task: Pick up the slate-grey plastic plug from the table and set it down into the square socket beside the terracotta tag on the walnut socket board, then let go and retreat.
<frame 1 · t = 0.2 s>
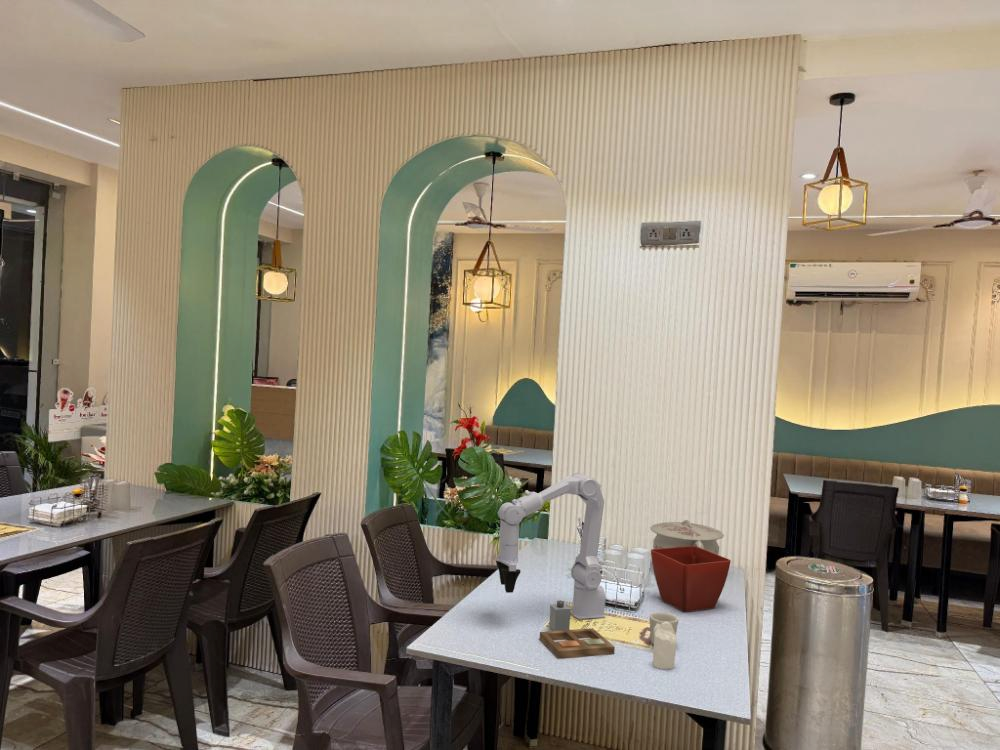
hand: (506, 588, 224), 10 cm above the table, tool pointing down, fingers open, 7 cm apart
cup: (660, 647, 211), on the table
chamber pot: (684, 574, 285), on the table
socket board: (572, 642, 210), on the table
plug: (559, 630, 219), on the table
plant pot: (687, 605, 249), on the table
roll: (663, 666, 197), on the table
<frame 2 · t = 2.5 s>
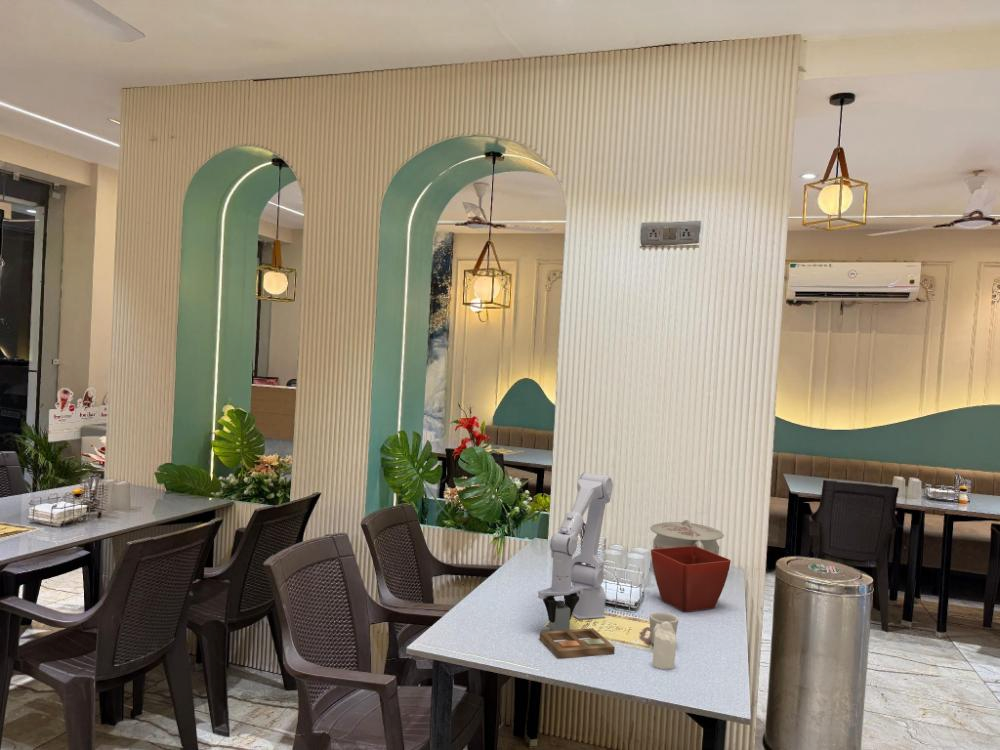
hand: (559, 620, 219), 3 cm above the table, tool pointing down, fingers closed on plug, 5 cm apart
plug: (559, 630, 219), on the table, touching gripper
everything else where it was.
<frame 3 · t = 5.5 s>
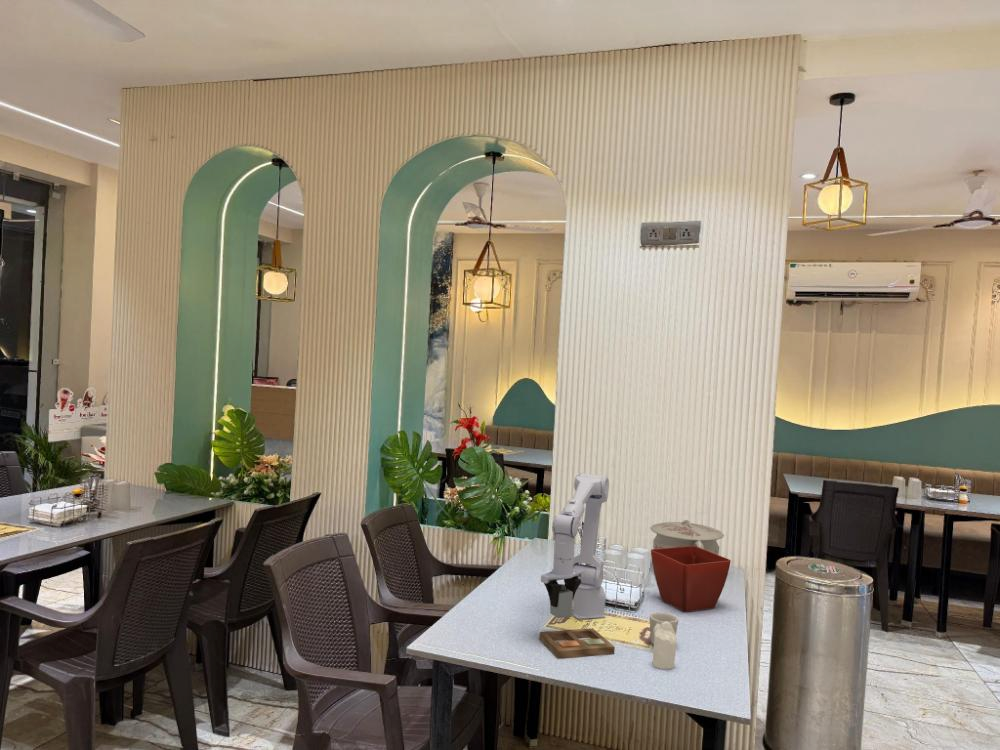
hand: (561, 604, 213), 10 cm above the table, tool pointing down, fingers closed on plug, 5 cm apart
plug: (560, 614, 213), point 7 cm above the table, touching gripper
everything else where it was.
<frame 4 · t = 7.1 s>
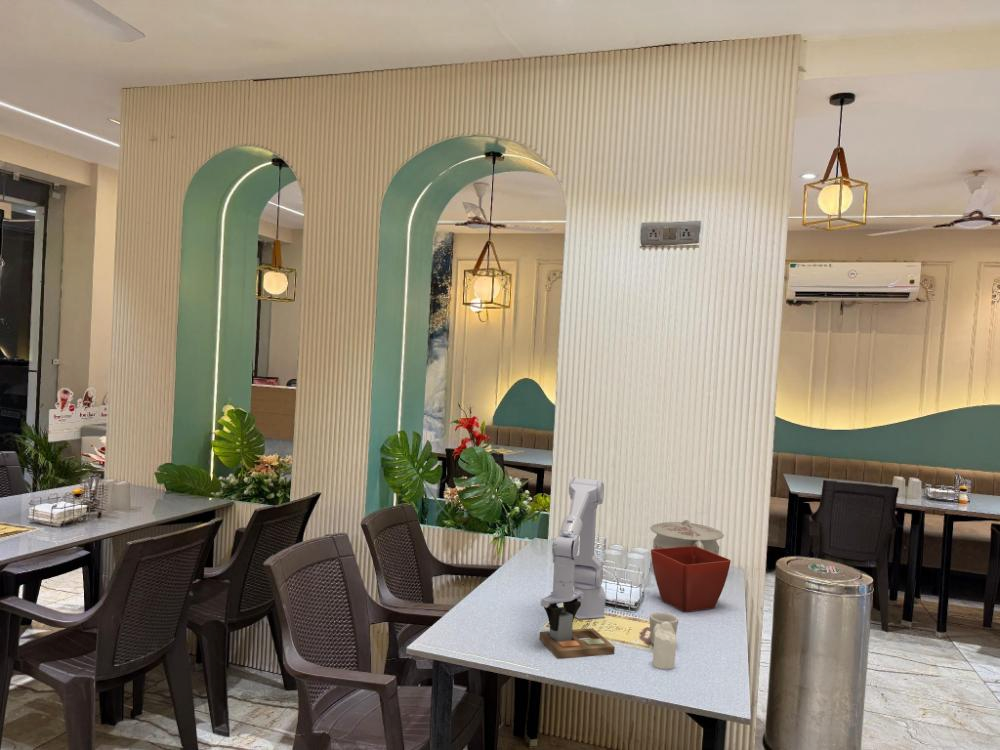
hand: (561, 628, 209), 4 cm above the table, tool pointing down, fingers closed on plug, 5 cm apart
plug: (560, 638, 209), point 2 cm above the table, touching gripper
everything else where it was.
when the fingers open (4 cm above the table, at t = 8.3 s): plug stays where it is, resting in socket board.
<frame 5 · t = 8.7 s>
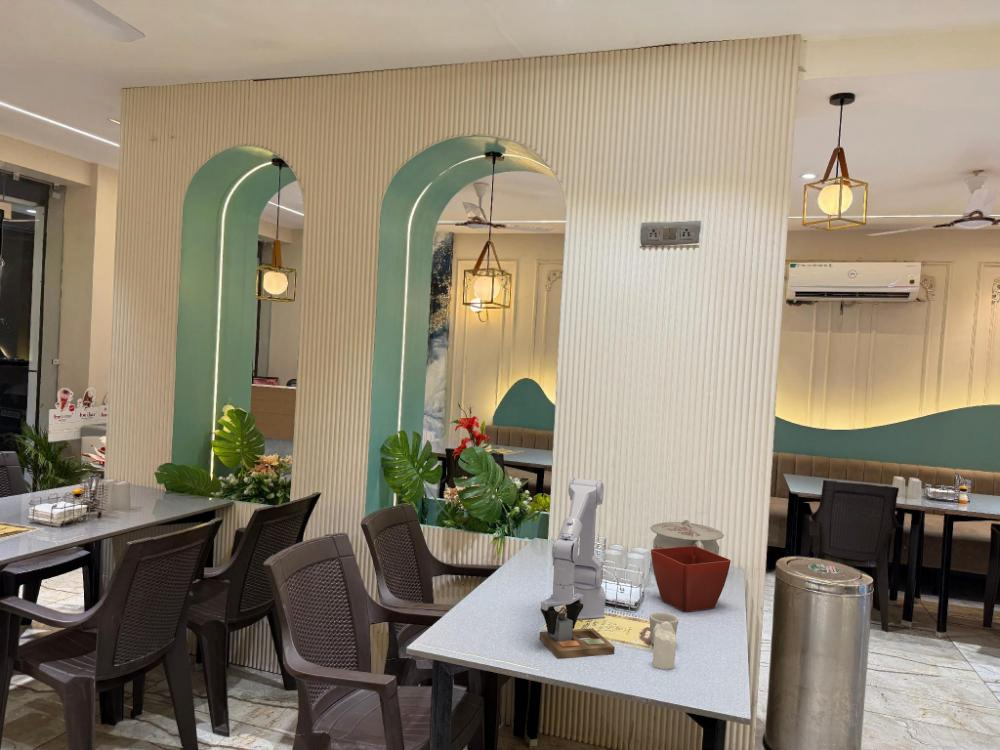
hand: (560, 630, 209), 4 cm above the table, tool pointing down, fingers open, 7 cm apart
plug: (560, 644, 209), resting in socket board
everything else where it was.
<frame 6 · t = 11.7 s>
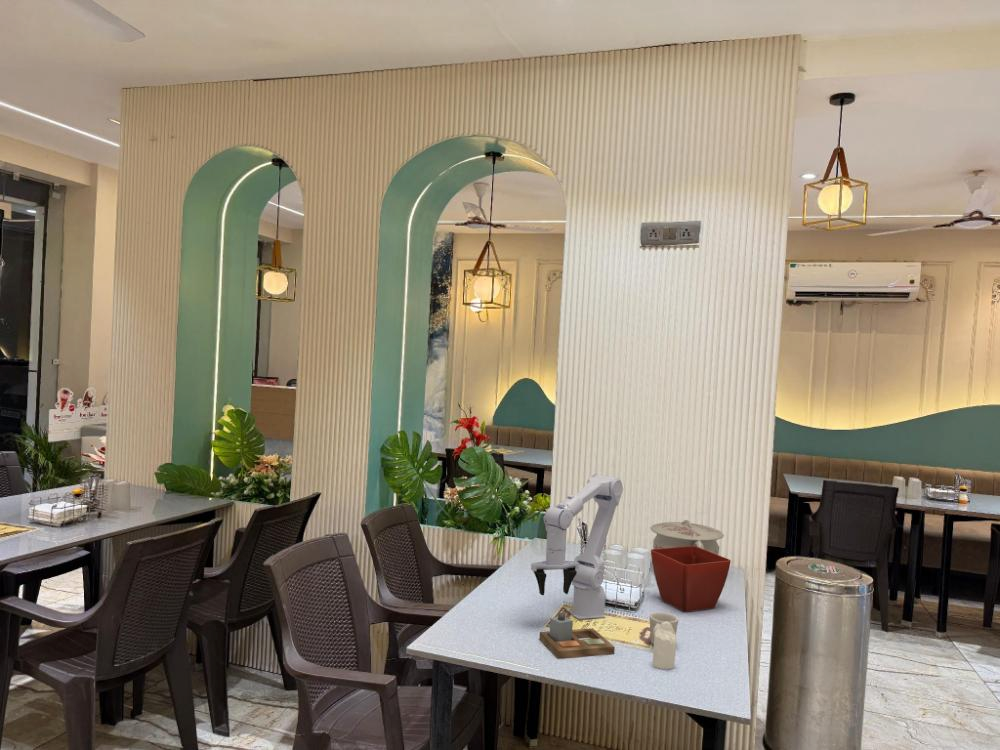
hand: (553, 593, 222), 10 cm above the table, tool pointing down, fingers open, 7 cm apart
nothing on the table moved.
at the end: plug 0.1 cm from the target spot, resting in socket board; plug tilted 0°; the gripper is holding nothing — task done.
